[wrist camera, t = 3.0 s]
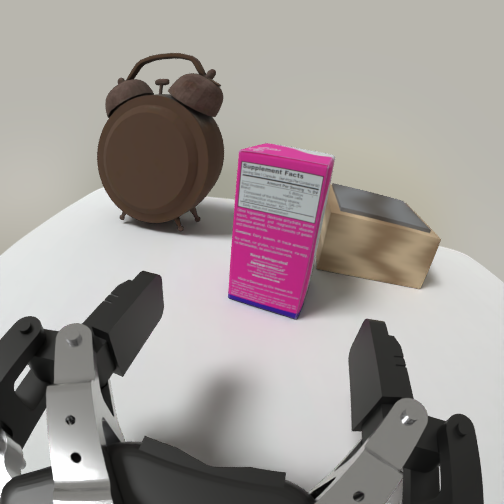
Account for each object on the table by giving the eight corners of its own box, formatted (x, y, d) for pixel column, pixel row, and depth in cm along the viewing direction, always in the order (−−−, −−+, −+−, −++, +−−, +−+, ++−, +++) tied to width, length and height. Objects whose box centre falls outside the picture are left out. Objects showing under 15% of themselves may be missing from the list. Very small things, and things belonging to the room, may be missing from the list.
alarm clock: (223, 220, 35) (240, 59, 25) (203, 245, 29) (222, 44, 19) (127, 204, 37) (132, 64, 27) (96, 223, 30) (97, 58, 21)
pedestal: (393, 242, 36) (406, 200, 33) (420, 289, 26) (442, 235, 23) (314, 224, 38) (324, 180, 34) (316, 268, 27) (332, 208, 24)
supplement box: (249, 264, 26) (266, 141, 21) (310, 282, 25) (340, 156, 19) (223, 298, 21) (238, 146, 16) (297, 322, 20) (336, 165, 15)
